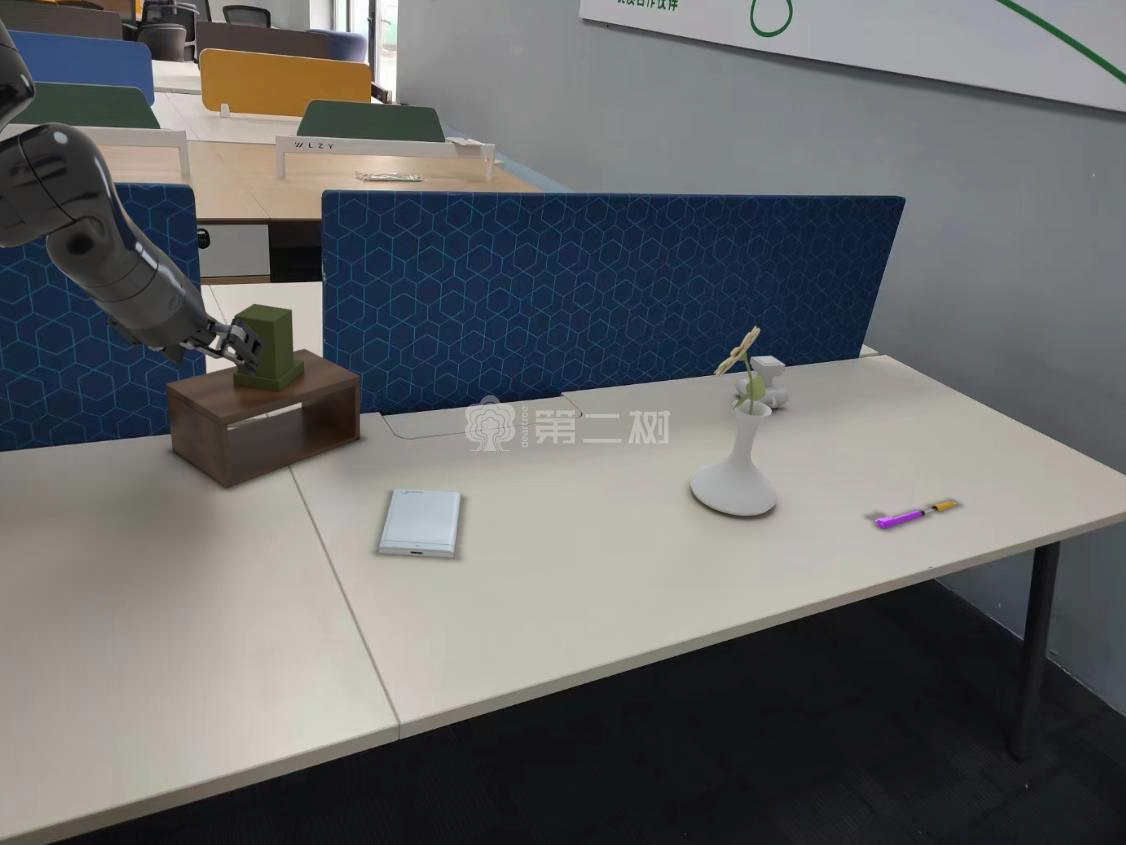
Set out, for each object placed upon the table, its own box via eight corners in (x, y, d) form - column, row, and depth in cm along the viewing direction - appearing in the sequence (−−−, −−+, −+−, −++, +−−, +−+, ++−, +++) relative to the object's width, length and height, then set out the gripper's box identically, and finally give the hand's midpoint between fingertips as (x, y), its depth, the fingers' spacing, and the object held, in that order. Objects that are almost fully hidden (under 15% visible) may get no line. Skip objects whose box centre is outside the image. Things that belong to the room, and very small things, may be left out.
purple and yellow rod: (883, 532, 108) (957, 508, 117) (883, 523, 108) (958, 500, 116) (865, 525, 111) (940, 503, 119) (866, 517, 110) (941, 495, 119)
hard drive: (393, 487, 103) (378, 545, 91) (461, 492, 103) (454, 550, 92) (393, 499, 103) (378, 558, 92) (460, 503, 104) (453, 562, 93)
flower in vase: (720, 471, 119) (757, 302, 108) (790, 506, 112) (836, 330, 101) (662, 498, 111) (696, 318, 100) (733, 538, 104) (778, 350, 93)
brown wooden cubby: (172, 455, 107) (165, 383, 102) (306, 413, 121) (304, 348, 117) (226, 493, 100) (220, 418, 96) (360, 443, 115) (360, 376, 111)
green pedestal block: (279, 392, 104) (276, 323, 100) (233, 384, 104) (228, 315, 100) (304, 371, 110) (302, 305, 106) (260, 364, 111) (257, 298, 107)
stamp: (789, 416, 139) (801, 369, 136) (755, 418, 137) (766, 371, 133) (761, 394, 147) (771, 349, 143) (728, 395, 144) (737, 349, 141)
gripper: (229, 267, 79) (287, 341, 94) (87, 246, 80) (167, 322, 95) (203, 339, 76) (267, 403, 92) (57, 316, 78) (145, 383, 93)
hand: (216, 362), depth 94 cm, fingers open, 8 cm apart
